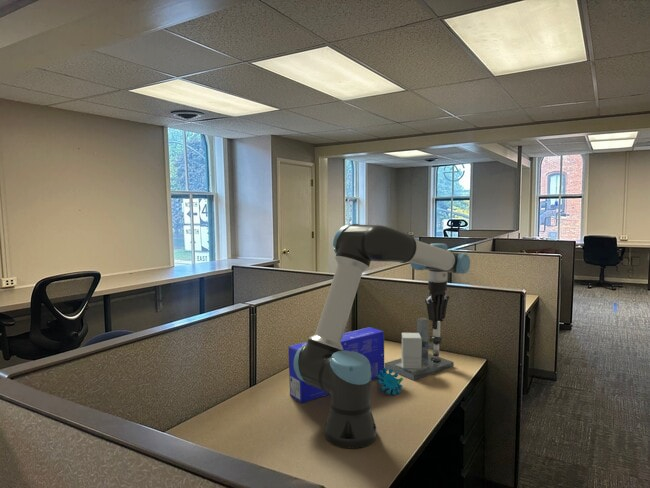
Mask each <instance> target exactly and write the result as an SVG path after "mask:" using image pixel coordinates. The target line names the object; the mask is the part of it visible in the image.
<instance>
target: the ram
mask: <svg viewBox="0 0 650 488" xmlns="http://www.w3.org/2000/svg"><path fill="white" fill-rule="evenodd" d="M429 336H430V337H429V338H430V340H429V343H431V344H433V349H432V350H433V351H432V355H433V356H438V357H440V344H442V343H443V340H444V339H443V335H442V336H441V335H440V337H435V336H433V334H431V335H429Z"/></svg>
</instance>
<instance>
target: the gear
mask: <svg viewBox="0 0 650 488" xmlns="http://www.w3.org/2000/svg"><path fill="white" fill-rule="evenodd" d="M383 370H384V374H383ZM383 370H380V371H379V373H380V374H381V375H382V377H381V375H380V374H379V375H378V376H377V379H379V380H378V381H377V385H381V387H380V389H381V391H385V390H386V389H387V390H386V392H385V393H386V394H387V395H390V394H391V395H393V396H396V395H397V394H400V393H401V389H402V388H403V385H402V384H401V383H402V382H403V381H404V377H400V378H397V377H399V374H398V373H395V372H393V370H391V369H390V370H388V369H387V368H385V367H384V369H383ZM392 373H394V374H392ZM391 391H392V392H391Z"/></svg>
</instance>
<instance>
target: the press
mask: <svg viewBox="0 0 650 488" xmlns="http://www.w3.org/2000/svg"><path fill="white" fill-rule="evenodd" d="M429 322H430V320H429V318H427V317H420V318H419V317H418V318H417V319H416V333H419V334H420V336H421V338H422V352H421V369H409V368H403V365H402V361H401V358H402V357H400V358H397V359H394V360H391V361H387V362H384V368H387V369H388V371H389V370H390V369H391V370H393V372H392V373H394V374H395V373H397V374H398V375H400V376H402V377H403V378H404V377H405V378H406V379H408V380H412V381H417V380H420V379H422V378H425V377H428V376H431V375H434V374H437V373H440V372H442V371H446V370H449V369H451V368H453V367H455V365H454V361H452V360H448V359H447V358H444V357H441V356H433V353H429V350H433V343H432V342H429V331H430V330H429V326H430V323H429Z"/></svg>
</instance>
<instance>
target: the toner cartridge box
mask: <svg viewBox="0 0 650 488" xmlns="http://www.w3.org/2000/svg"><path fill="white" fill-rule="evenodd" d="M307 342H308V341H307ZM307 342H301V343H296V344H293V345H289V346H288V371H289V372H288V373H289V396H290V397H291V398H293V399H295V400H296V401H298V402H299V403H301V404H304V403H307V402H310V401H312V400H317V399H319V398H322V397H325V396H328V395H330V394H329V393H327V392H325V391H323V390H320V389H318V388H316V387H314V386H312V385H308V384H306V383H305V382H304V381H302V380H300V379H299V378H298V377H297V375H296V372H295V370H294V357H295V354H296V352H297V350H298V349H299V348H301V346H302V345H305V344H307ZM341 345H342V347H343V349H344V350H343V351H350V352H352V351H354V352H357V353H360V354H362V355H364V356H365V357H366V358H367V359H368V360H369V362H370V367H371V381H373V380H376V379H378V378H377V376H378V375H379V374H380V373H379V371H380V370H383V369H384V368H385V332H384V331H383V330H381V329H378V328H374V327H371V326H369V327H364V328H361V329H357V330H352V331H348V332H344V333H343V337H342V340H341ZM383 374H385V373H384V370H383ZM380 375H381V374H380ZM381 377H382V375H381Z"/></svg>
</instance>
